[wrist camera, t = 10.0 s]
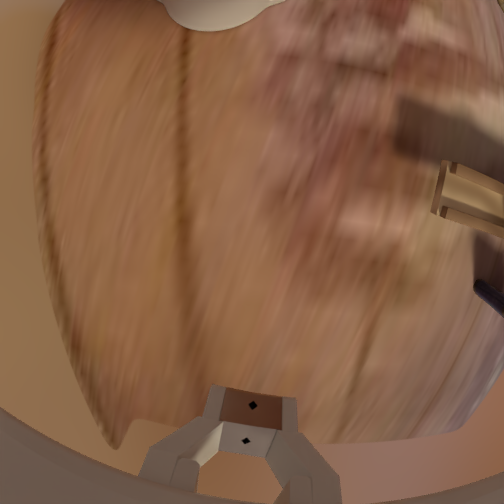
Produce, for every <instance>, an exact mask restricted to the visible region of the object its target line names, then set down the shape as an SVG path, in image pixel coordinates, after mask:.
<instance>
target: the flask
mask: <svg viewBox="0 0 504 504" xmlns="http://www.w3.org/2000/svg"><path fill="white" fill-rule="evenodd" d="M473 289H474V291H475V293H476V294H477V295H478V296H479V297H480V298H481V299H483V300H484V301H486V302H487V303H488V304H489V305H490V306H491V307H493V308H494V309H495V310H496V311H497V312H498V313H499V314H500V315H501V316H502V317H503V318H504V293H503V292H501V291H498V290H497V289H496V288H495V287H493V286H490V285H489V284H488V283H486V282H485V281H484V280H482V279H479V280H476V283H475V284H474V287H473Z"/></svg>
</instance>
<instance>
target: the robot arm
mask: <svg viewBox="0 0 504 504" xmlns="http://www.w3.org/2000/svg"><path fill="white" fill-rule="evenodd" d="M158 1H159V2H161V3H163V5H164V6H165V8H166V10H167V12H168V14H169V15H170V17H171V18H172V19H173V20H174V21H176V22H177V23H178V24H180V25H182V26H184V27H186V28H189V29H193V30H198V31H219V30H225V29H229V28H233V27H236V26H239V25H241V24H243V23H245V22H247V21H249V20H251V19H252V18H254V17H255V16H257V15H258V14H259V13H260V12H261V11H263V10H264V9H265V8H267V7H268V6H271V5H274V4H277V3H280V2H283V1H285V0H158ZM218 450H219V451H225V452H232V453H239V454H245V455H251V456H257V457H264V458H265V459H266V461H267V463H268V464H269V466H270V468H271V469H272V471H273V473H274V474H275V476H276V478H277V480H278V481H279V483H280V485H281V486H282V488H283V490H282V491H281V493H280V494H279V496H278V497H277V499H276V500H275V502H274V503H273V504H342V497H341V488H340V479H339V475H338V474H337V473H336V472H335V471H334V470H333V469H332V468H331V466H330V465H329V464H328V463H327V462H326V461H325V460H324V458H323V457H322V456H321V455H320V454H319V452H318V451H317V450H316V449H315V448H314V447H313V445H312V444H311V443H310V442H309V441H308V439H307V438H306V437H305V436H304V435H303V433H299V432H298V420H297V400H296V398H291V397H283V396H282V397H281V396H275V395H268V394H261V393H255V392H254V393H253V392H248V391H243V390H238V389H234V388H229V387H227V388H226V387H223V386H219V385H215V384H212V386H211V388H210V391H209V395H208V398H207V402H206V406H205V409H204V413H203V416H202V417H200V416H198V417H196V418H195V419H193V420H192V421H190V422H189V423H187V424H186V425H184V426H183V427H181V428H180V429H178V430H177V431H175V432H173V433H172V434H170V435H169V436H167V437H166V438H164V439H162V440H161V441H159V442H158V443H156V444H154V445H153V446H151V447H150V448H149V451H148V453H147V455H146V458H145V461H144V463H143V465H142V468H141V470H140V473H139V475H138V476H135V475H132V474H130V473H127V472H124V471H121V470H119V469H116V468H113V467H111V466H108V465H106V464H103V463H101V462H99V461H96V460H94V459H92V458H89V457H87V456H85V455H83V454H81V453H79V452H77V451H74V450H72V449H70V448H68V447H66V446H64V445H62V444H60V443H59V442H57V441H55V440H53V439H51V438H49V437H47V436H45V435H44V434H42V433H40V432H39V431H37V430H35V429H34V428H32V427H30V426H29V425H27V424H25V423H24V422H22V421H21V420H19V419H17V418H16V417H14V416H13V415H11V414H10V413H8V412H7V411H5V410H4V409H3V408H1V407H0V504H265V503H254V502H246V501H239V500H232V499H226V498H220V497H215V496H210V495H205V494H200V493H197V488H198V477H199V469H200V467H201V466H202V465H203V464H205V463H206V462H207V461H208V460H209V459H210V458H211V457H212V456H213V455H215V454H216V453H217V452H218ZM371 504H504V472H501V473H499V474H496V475H493V476H491V477H488V478H485V479H482V480H479V481H476V482H473V483H470V484H467V485H464V486H460V487H457V488H453V489H449V490H445V491H442V492H437V493H433V494H428V495H424V496H418V497H413V498H407V499H401V500H395V501H388V502H380V503H371Z"/></svg>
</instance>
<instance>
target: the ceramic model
mask: <svg viewBox="0 0 504 504" xmlns="http://www.w3.org/2000/svg"><path fill="white" fill-rule="evenodd" d="M497 1H498V3H499V5H500V7H501V9H502V10H503V12H504V0H497Z"/></svg>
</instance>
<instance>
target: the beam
mask: <svg viewBox="0 0 504 504" xmlns="http://www.w3.org/2000/svg"><path fill="white" fill-rule="evenodd" d="M430 212H431V213H433V214H435V215H438V216H441V217H443V218H445V219H448V220H451V221H454V222H457V223H460V224H464V225H467V226H470V227H473V228H475V229H478V230H481V231H484V232H487V233H490V234H493V235H495V236H498V237H501V238H504V184H503V183H501V182H499V181H497V180H495V179H492V178H490V177H488V176H486V175H484V174H482V173H480V172H478V171H475V170H473V169H471V168H469V167H466V166H464V165H462V164H459V163H455V162H451V161H447V160H442V161H441V167H440V172H439V176H438V181H437V186H436V190H435V195H434V199H433V203H432V207H431V211H430Z"/></svg>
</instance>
